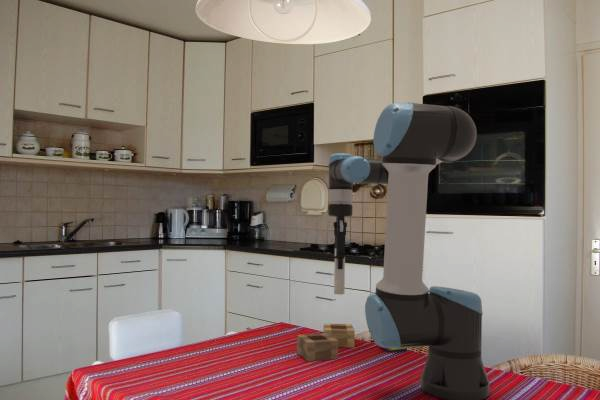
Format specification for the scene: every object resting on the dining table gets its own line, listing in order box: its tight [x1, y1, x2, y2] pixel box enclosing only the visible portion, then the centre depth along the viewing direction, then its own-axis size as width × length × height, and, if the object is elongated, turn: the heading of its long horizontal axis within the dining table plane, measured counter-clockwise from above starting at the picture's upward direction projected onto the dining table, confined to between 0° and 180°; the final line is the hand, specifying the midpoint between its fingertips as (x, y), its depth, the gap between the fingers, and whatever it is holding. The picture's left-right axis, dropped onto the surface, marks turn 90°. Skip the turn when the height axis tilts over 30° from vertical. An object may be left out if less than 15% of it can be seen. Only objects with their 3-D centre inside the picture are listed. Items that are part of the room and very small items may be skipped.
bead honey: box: [322, 323, 355, 348], centre depth 157 cm, size 9×9×5 cm
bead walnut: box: [296, 332, 339, 362], centre depth 143 cm, size 9×9×5 cm
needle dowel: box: [333, 247, 346, 295], centre depth 157 cm, size 3×3×14 cm
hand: (339, 278), depth 157 cm, fingers closed on needle dowel, 3 cm apart
